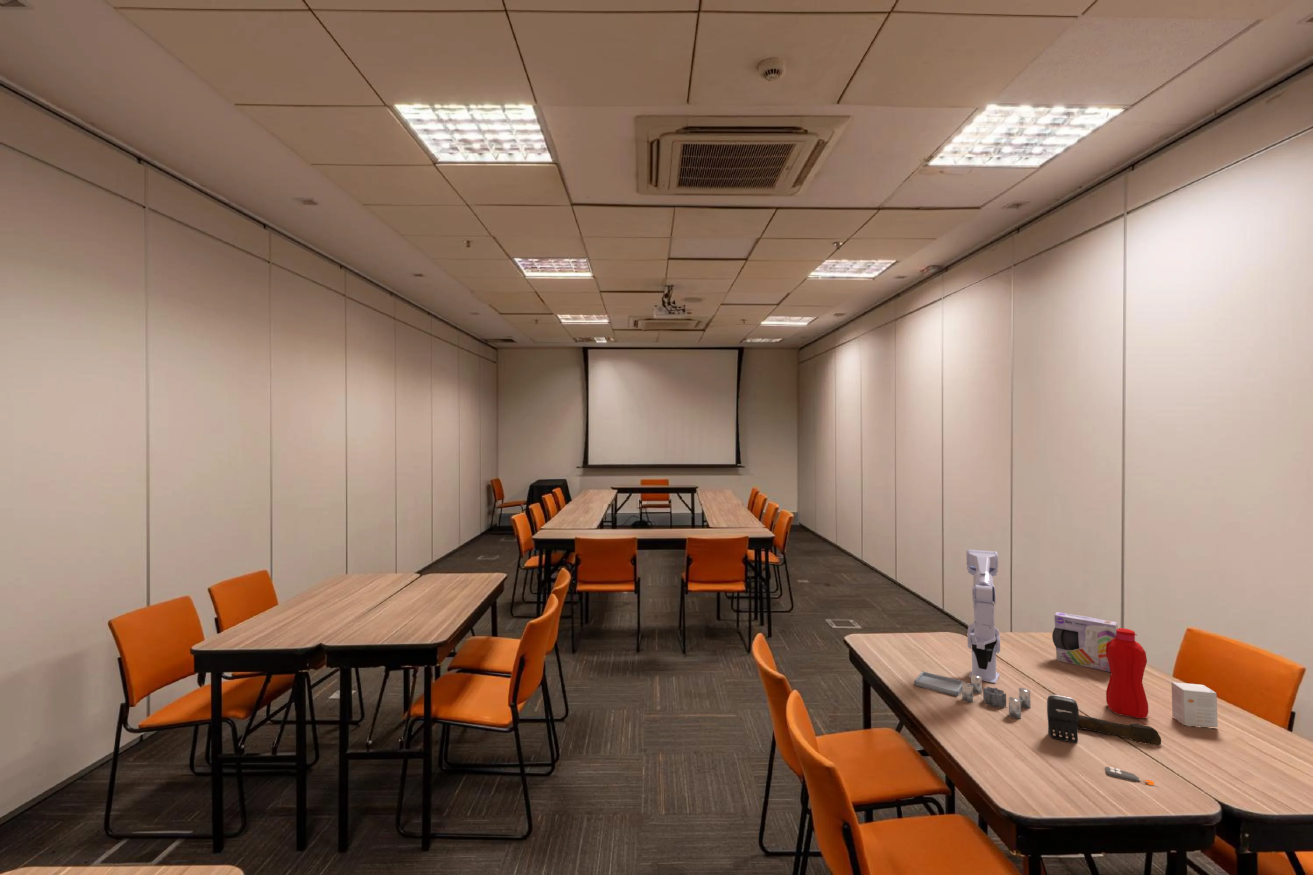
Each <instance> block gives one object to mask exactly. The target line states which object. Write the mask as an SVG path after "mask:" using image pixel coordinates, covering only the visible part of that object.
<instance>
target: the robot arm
mask: <svg viewBox="0 0 1313 875" xmlns="http://www.w3.org/2000/svg"><path fill="white" fill-rule="evenodd" d="M965 555H966V569H967V573H968V574H970V575H972V576H973V582H972V583H973V584H972V586H971V590H972V591H971V592H972V593H971V595H972V596H971V597H972V598H971V600H972V603H973V604H972V605H973V622H972V623H970V624H969V625H968V626H967V647H968V648H969V649H970V650H971V672H970V673H969V675H968V678H970V679H971V675H972V674H976V675H980V676H981V677H982V681H983V682H987V683H991V684H996V683H997V682H998V679H999V677H1000V673H999V672H997V654H999V653H1000V652H1001V636H1000V630H999V629H998V628H997V627H996V626H995V624H996V623H995V605H996V604H997V603H996V602H997V594H996V592H997V591H996V590H997V589H996V587H995V585H994V578H993V577H995V576H997V573H998V568H999V552H998V551H996V550H994V551H993V550H992V551H991V550H980V549H979V550H978V549H970V548H967V549H966V554H965Z"/></svg>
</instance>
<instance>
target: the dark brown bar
mask: <svg viewBox="0 0 1313 875" xmlns="http://www.w3.org/2000/svg"><path fill="white" fill-rule="evenodd" d="M1078 729H1080V730H1089V731H1094V732H1099V733H1104V734H1109V735H1113V736H1119V737H1123V738H1126V739H1130V740H1132V741H1133V742H1135V741H1136V743H1139V742H1141V743H1140V744H1145V743H1146V745H1153V744H1156V746H1161V745H1162V738H1161V736H1160V734H1159V732H1158V731H1157V730H1156V729H1155V728H1154V727H1152V726H1148V725H1143V724H1140V723H1138V722H1137V723H1136V722H1135V723H1133V722H1132V723H1131V722H1130V724H1125V723H1119V722H1114V721H1109V720H1103V719H1100V718H1099V719H1098V718H1096V717H1091V716H1086V715H1082V714H1079V721H1078Z"/></svg>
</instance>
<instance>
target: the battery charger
mask: <svg viewBox="0 0 1313 875" xmlns="http://www.w3.org/2000/svg"><path fill="white" fill-rule="evenodd" d="M1046 715H1047V716H1046V717H1047V734H1048V736H1049V737H1050V738H1052V739H1055V740H1059V741H1065V742H1069V743H1078V742H1079V741H1078V740H1079V739H1078V738H1079V735H1078V732H1079V731H1078V730H1079V728H1078V721H1079V715H1080V714H1079V706H1078V702H1077V701H1076V699H1074V698H1072V697H1070V696H1064V695H1059V694H1049V695H1048V696H1047V699H1046Z"/></svg>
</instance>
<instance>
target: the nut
mask: <svg viewBox="0 0 1313 875" xmlns="http://www.w3.org/2000/svg"><path fill="white" fill-rule="evenodd" d="M982 697H983V699H982V700H983V702H984V703H985V705H988V706H991V707H992V708H999V709H1002V708H1003V707H1004V708H1006V707H1007V693H1005V691H1004V690H1002V689H999V688H998V687H991V686H990V687H989V686H986V687H985V688H983V687H982Z"/></svg>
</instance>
